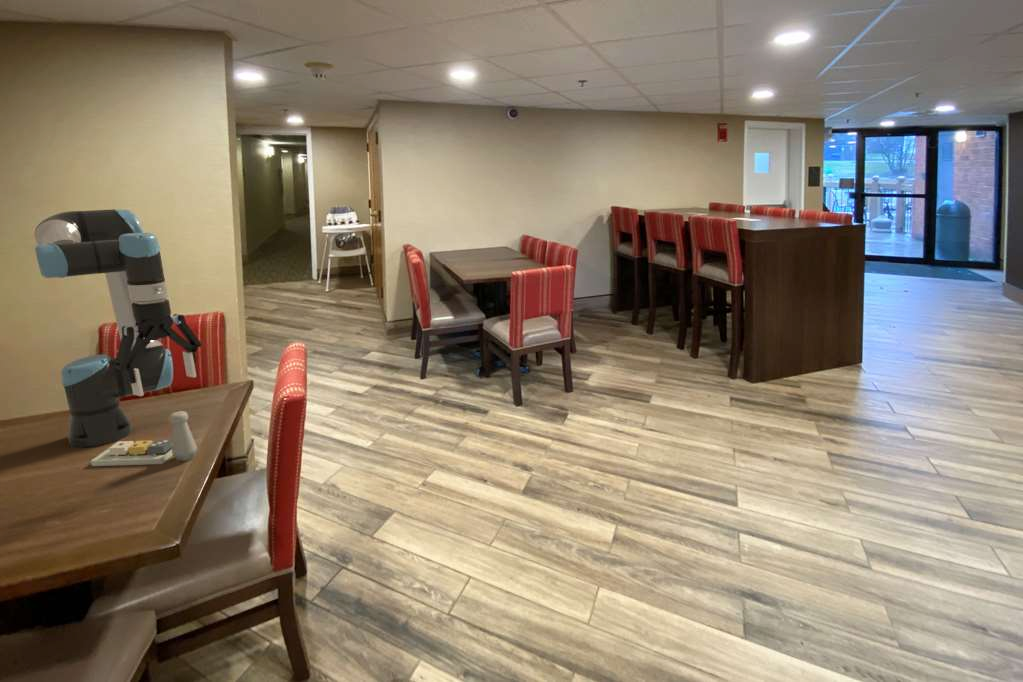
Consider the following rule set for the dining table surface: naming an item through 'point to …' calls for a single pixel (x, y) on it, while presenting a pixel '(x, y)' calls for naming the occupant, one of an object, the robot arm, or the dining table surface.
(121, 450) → the tile
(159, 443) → the tile
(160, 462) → the tile board
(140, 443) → the tile
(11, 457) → the dining table surface
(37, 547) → the dining table surface
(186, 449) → the salt shaker
